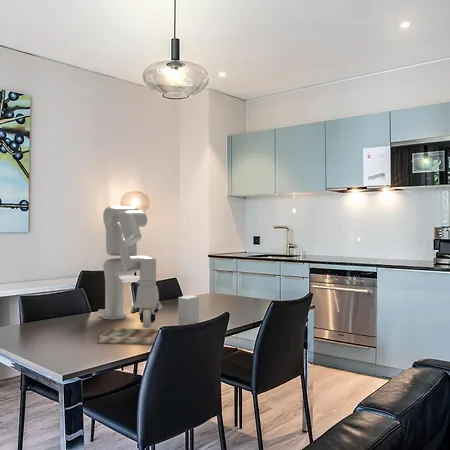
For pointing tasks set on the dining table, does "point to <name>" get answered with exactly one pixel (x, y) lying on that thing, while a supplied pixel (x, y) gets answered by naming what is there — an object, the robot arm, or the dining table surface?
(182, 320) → the skincare box
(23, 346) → the dining table surface
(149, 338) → the sorting tray
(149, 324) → the cylinder
